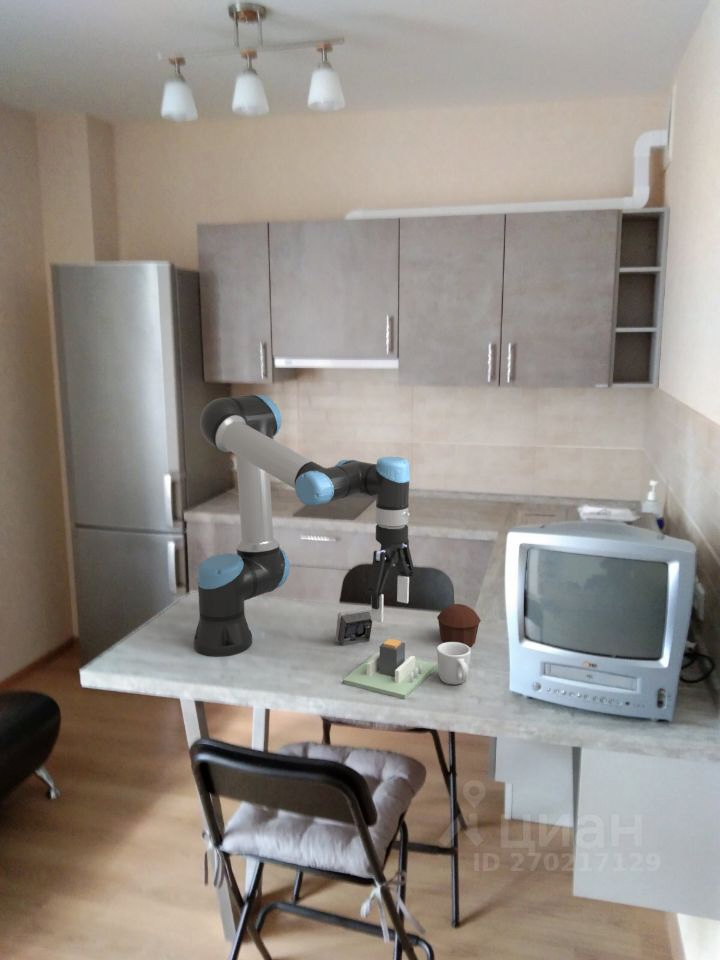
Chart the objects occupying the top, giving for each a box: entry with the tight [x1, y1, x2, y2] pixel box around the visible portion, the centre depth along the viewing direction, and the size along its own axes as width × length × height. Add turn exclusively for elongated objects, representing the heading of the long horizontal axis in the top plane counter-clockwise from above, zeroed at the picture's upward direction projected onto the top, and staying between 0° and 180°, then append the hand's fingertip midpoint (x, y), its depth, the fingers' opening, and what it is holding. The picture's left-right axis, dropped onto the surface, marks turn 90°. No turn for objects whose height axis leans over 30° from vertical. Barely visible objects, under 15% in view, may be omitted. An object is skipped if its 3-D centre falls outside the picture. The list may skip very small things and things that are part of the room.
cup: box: [436, 642, 472, 685], centre depth 176 cm, size 11×8×8 cm
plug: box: [379, 638, 406, 677], centre depth 180 cm, size 4×4×8 cm
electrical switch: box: [334, 607, 373, 647], centre depth 199 cm, size 9×5×9 cm, turn 113°
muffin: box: [436, 603, 482, 648], centre depth 199 cm, size 12×11×10 cm
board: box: [343, 650, 438, 700], centre depth 180 cm, size 16×18×4 cm
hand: (390, 611), depth 178 cm, fingers open, 13 cm apart
